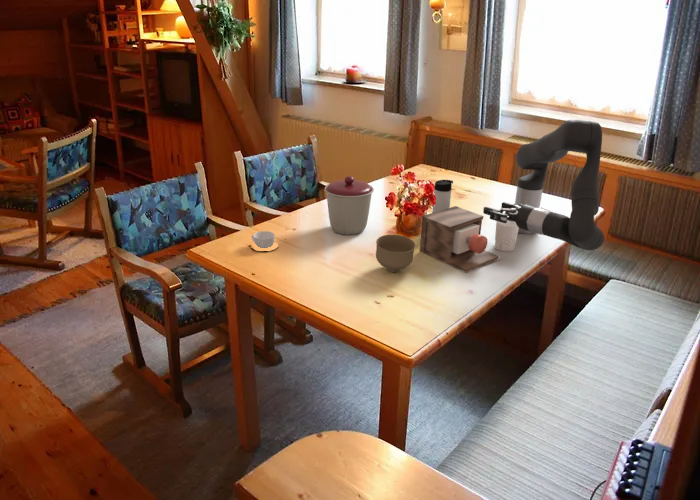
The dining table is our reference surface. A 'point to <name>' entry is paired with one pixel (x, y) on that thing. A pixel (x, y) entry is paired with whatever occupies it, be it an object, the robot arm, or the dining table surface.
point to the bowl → (395, 252)
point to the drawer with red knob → (468, 239)
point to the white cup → (506, 235)
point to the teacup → (263, 239)
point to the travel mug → (442, 195)
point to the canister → (348, 205)
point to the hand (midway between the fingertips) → (493, 207)
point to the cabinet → (451, 238)
